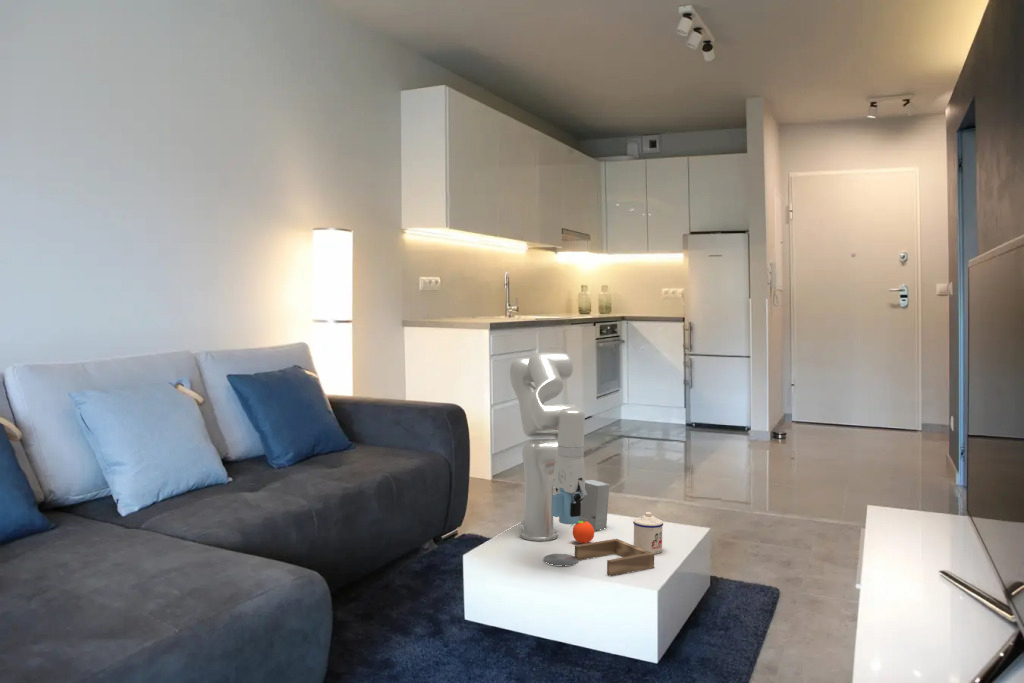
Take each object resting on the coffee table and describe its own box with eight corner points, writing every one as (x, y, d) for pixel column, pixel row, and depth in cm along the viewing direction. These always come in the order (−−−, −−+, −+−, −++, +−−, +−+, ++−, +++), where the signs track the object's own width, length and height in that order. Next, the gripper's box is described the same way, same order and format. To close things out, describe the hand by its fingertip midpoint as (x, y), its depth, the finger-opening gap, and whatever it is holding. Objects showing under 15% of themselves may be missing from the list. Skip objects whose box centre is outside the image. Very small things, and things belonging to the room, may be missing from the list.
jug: (571, 517, 220) (572, 483, 220) (583, 522, 215) (584, 488, 215) (547, 521, 216) (548, 486, 216) (559, 526, 211) (560, 491, 211)
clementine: (570, 546, 234) (570, 523, 233) (567, 539, 240) (568, 518, 240) (595, 546, 234) (596, 523, 234) (592, 540, 241) (593, 518, 241)
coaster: (537, 558, 220) (537, 556, 220) (565, 553, 226) (565, 551, 226) (556, 568, 212) (556, 566, 212) (584, 563, 217) (584, 561, 217)
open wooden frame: (574, 559, 221) (574, 545, 221) (616, 551, 228) (616, 538, 228) (610, 576, 206) (610, 561, 206) (654, 567, 214) (654, 553, 214)
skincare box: (576, 527, 256) (577, 481, 256) (590, 523, 261) (591, 478, 261) (595, 532, 250) (596, 485, 250) (609, 528, 255) (610, 482, 254)
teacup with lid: (656, 556, 224) (657, 517, 224) (628, 551, 229) (628, 513, 229) (670, 546, 234) (670, 509, 234) (642, 542, 239) (643, 505, 239)
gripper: (543, 447, 221) (541, 507, 222) (577, 458, 206) (575, 523, 207) (564, 445, 225) (562, 504, 226) (599, 456, 210) (597, 519, 211)
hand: (568, 512), depth 216 cm, fingers closed on jug, 5 cm apart
